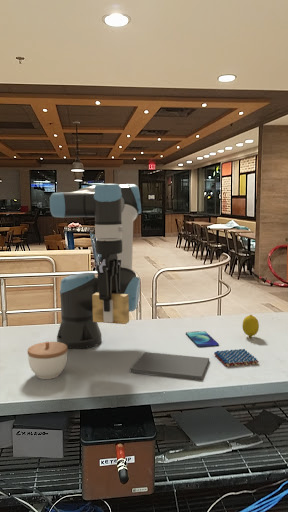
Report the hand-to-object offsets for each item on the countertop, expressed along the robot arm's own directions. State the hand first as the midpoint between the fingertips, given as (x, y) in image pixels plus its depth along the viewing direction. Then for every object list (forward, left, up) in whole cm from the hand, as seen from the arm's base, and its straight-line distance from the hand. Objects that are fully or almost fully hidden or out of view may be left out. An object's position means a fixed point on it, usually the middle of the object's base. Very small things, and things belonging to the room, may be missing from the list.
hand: (110, 320), depth 123 cm
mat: (+17, +3, -14) cm, 22 cm away
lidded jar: (-14, -11, -14) cm, 23 cm away
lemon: (+38, +37, -14) cm, 54 cm away
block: (0, 0, 0) cm, 0 cm away
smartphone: (+22, +30, -14) cm, 39 cm away
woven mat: (+35, +14, -14) cm, 40 cm away
